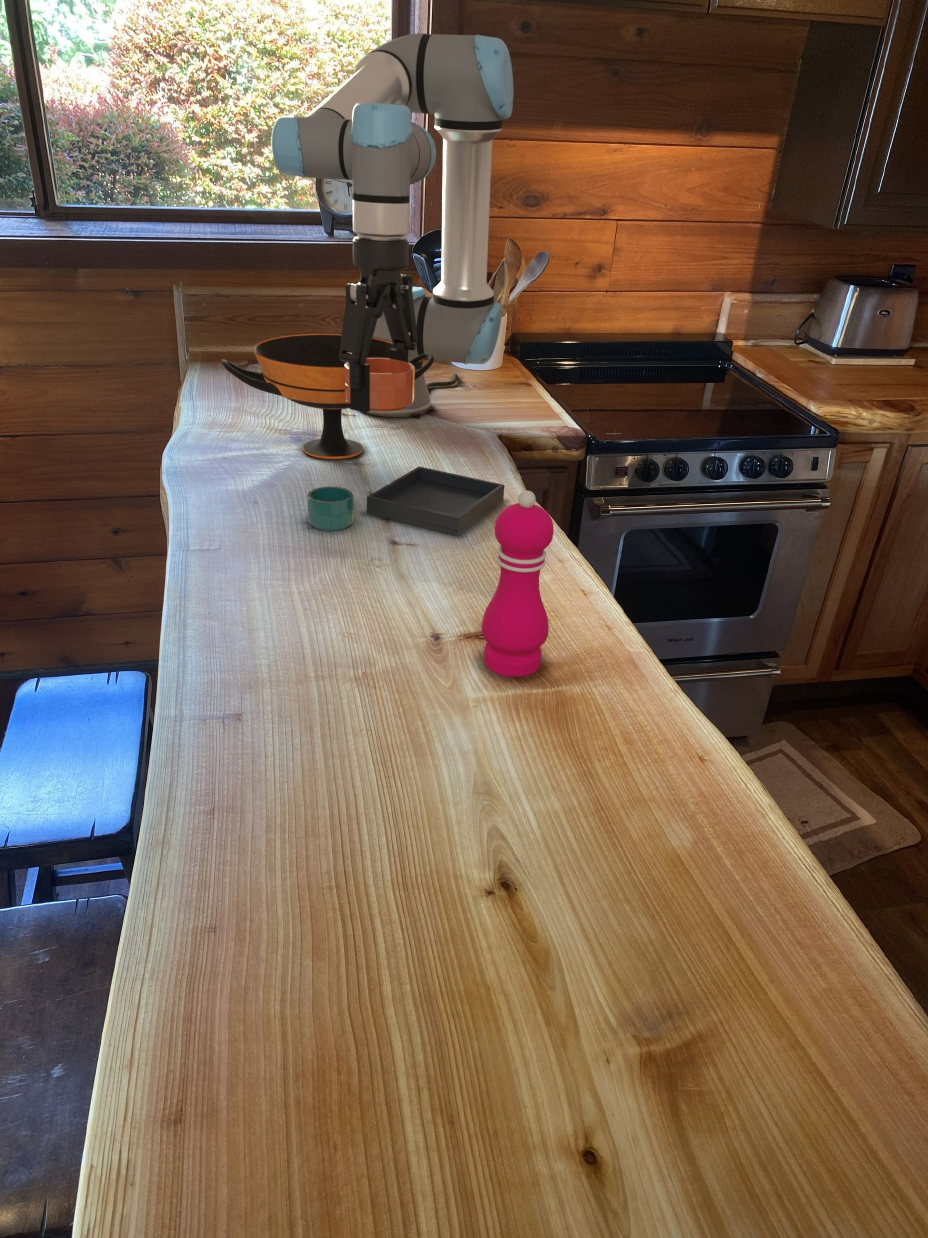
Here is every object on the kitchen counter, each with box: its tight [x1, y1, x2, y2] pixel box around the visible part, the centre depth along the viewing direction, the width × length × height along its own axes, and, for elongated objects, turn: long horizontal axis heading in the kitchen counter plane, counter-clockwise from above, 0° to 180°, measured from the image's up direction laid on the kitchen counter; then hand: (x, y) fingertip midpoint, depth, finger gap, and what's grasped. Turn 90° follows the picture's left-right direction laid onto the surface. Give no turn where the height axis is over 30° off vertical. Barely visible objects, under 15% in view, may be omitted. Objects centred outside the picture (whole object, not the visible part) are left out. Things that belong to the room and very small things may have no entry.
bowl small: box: [306, 486, 355, 532], centre depth 129 cm, size 6×6×4 cm
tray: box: [366, 466, 505, 537], centre depth 137 cm, size 16×15×3 cm
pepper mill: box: [481, 490, 555, 678], centre depth 94 cm, size 7×7×20 cm
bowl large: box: [345, 358, 415, 412], centre depth 129 cm, size 10×10×6 cm
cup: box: [220, 332, 435, 460], centre depth 155 cm, size 36×26×18 cm
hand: (379, 402), depth 131 cm, fingers closed on bowl large, 10 cm apart
